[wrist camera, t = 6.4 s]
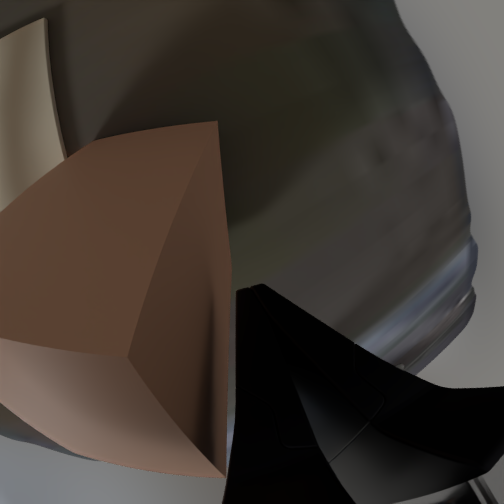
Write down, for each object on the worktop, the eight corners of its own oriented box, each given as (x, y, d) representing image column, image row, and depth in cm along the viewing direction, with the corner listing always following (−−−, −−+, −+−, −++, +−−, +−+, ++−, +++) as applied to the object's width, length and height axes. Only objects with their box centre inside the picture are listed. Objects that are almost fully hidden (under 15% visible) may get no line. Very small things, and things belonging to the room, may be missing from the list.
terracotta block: (217, 120, 11) (127, 356, 2) (231, 267, 16) (226, 478, 7) (93, 140, 11) (-82, 312, 2) (132, 271, 16) (73, 452, 7)
